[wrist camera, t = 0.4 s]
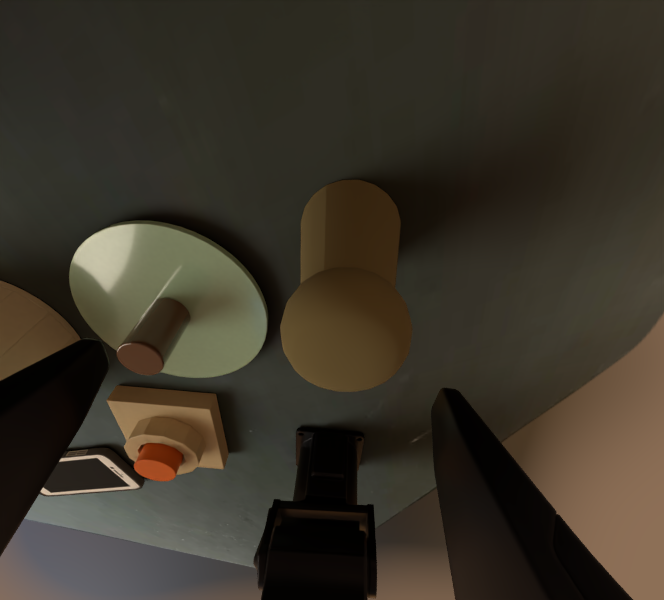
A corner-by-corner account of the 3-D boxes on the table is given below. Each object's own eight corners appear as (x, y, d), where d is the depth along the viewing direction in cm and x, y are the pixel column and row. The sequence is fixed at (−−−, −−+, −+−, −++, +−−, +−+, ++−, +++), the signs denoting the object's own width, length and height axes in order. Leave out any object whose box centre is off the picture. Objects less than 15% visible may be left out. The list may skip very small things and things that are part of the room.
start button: (186, 464, 34) (179, 483, 32) (148, 461, 34) (139, 479, 32) (179, 443, 32) (171, 462, 30) (138, 439, 32) (128, 458, 30)
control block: (228, 453, 38) (218, 487, 35) (144, 446, 38) (128, 479, 36) (216, 393, 32) (202, 428, 29) (116, 384, 32) (93, 418, 30)
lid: (273, 374, 30) (259, 434, 26) (113, 360, 30) (70, 417, 26) (265, 225, 22) (241, 274, 18) (45, 207, 22) (-33, 252, 18)
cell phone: (1, 456, 41) (-6, 464, 40) (109, 444, 38) (104, 453, 37) (48, 489, 46) (43, 497, 45) (149, 481, 43) (145, 489, 42)
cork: (404, 265, 23) (431, 409, 14) (312, 276, 24) (285, 418, 15) (397, 170, 20) (427, 285, 11) (290, 188, 21) (237, 306, 12)
